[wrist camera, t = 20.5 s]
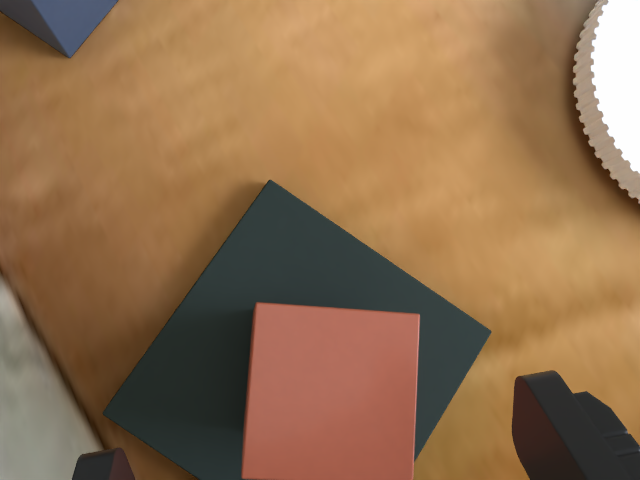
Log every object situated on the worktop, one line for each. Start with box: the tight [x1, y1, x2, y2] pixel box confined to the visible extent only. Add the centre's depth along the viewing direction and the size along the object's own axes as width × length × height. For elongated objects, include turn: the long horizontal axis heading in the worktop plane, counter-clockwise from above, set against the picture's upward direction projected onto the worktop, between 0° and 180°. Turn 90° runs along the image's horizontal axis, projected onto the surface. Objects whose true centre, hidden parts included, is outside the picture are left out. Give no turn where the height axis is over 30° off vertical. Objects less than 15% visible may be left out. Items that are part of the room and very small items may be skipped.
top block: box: [241, 302, 420, 480], centre depth 21 cm, size 5×5×8 cm
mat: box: [103, 180, 491, 480], centre depth 26 cm, size 12×12×1 cm
